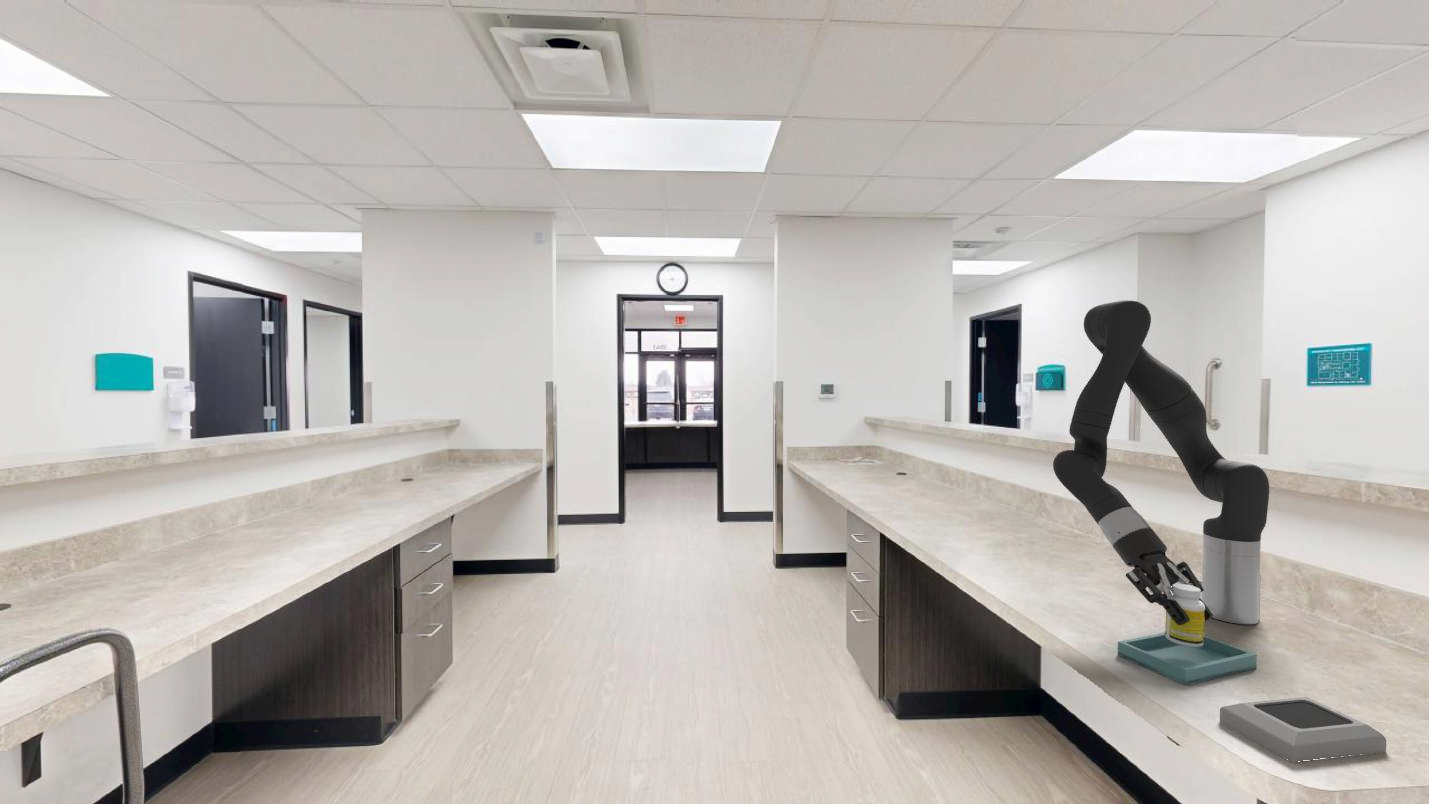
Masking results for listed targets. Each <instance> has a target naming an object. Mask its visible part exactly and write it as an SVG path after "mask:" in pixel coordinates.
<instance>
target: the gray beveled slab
mask: <svg viewBox="0 0 1429 804" xmlns="http://www.w3.org/2000/svg"><path fill="white" fill-rule="evenodd" d="M1219 722H1220V723H1221V724H1223V725H1224V726H1226V727H1228V728H1229V729H1231V730H1233V731H1235V732H1237V733H1239V734H1240V735H1242V736H1244V737H1246V738H1248V739H1249V740H1251V741H1253V742H1254V743H1256V744H1258V745H1260V746H1262V747H1264V748H1265V749H1266V750H1268V751H1270V752H1273V753H1274V754H1276V755H1277V756H1279V755H1280V756H1279V757H1281V756H1282V757H1281V758H1283V757H1284V758H1283V759H1285V758H1286V759H1288V760H1289V761H1288V760H1287V761H1288V762H1290V761H1291V762H1290V763H1292V762H1293V763H1292V764H1295V763H1294V762H1298V761H1303V760H1313V759H1320V758H1331V757H1341V756H1349V755H1359V756H1361V755H1360V754H1367V755H1372V754H1371V753H1376V754H1383V753H1387V739H1386V737H1385V735H1383V734H1382V733H1381V732H1380V731H1378V730H1377V729H1375V728H1373V727H1372V726H1370V725H1368V724H1366V723H1364V722H1363V721H1360V720H1358V719H1355V718H1353V717H1351V716H1349V715H1347V714H1344V713H1342V712H1340V711H1338V710H1336V709H1334V708H1331V707H1329V706H1327V705H1325V704H1323V703H1321V702H1318V701H1316V700H1314V699H1312V698H1309V697H1307V696H1302V697H1301V696H1300V697H1291V698H1279V699H1269V700H1261V701H1250V702H1241V703H1240V702H1239V703H1236V704H1230V705H1226V706H1222V707H1220V708H1219ZM1286 759H1285V760H1286Z"/></svg>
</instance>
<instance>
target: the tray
mask: <svg viewBox="0 0 1429 804" xmlns="http://www.w3.org/2000/svg"><path fill="white" fill-rule="evenodd" d="M1117 656H1119V657H1121V658H1123V659H1126V660H1128V661H1130V662H1132V663H1134V664H1137V665H1139V666H1141V665H1142V666H1141V667H1143V666H1144V668H1146V669H1148V670H1150V671H1152V672H1155V673H1158V674H1160V675H1161V676H1163V677H1166V678H1168V679H1171V680H1172V681H1175V682H1177V683H1180V684H1182V685H1184V686H1190V685H1193V684H1197V683H1203V682H1206V681H1211V680H1214V679H1218V678H1223V677H1227V676H1230V675H1235V674H1239V673H1243V672H1247V671H1251V670H1255V669H1257V662H1258V660H1257V659H1258V655H1257V653H1255V652H1251V651H1249V650H1246V649H1244V648H1241V647H1238V646H1236V645H1235V646H1234V645H1232V644H1230V643H1227V642H1224V641H1221V640H1219V639H1216V638H1213V637H1210V636H1207V635H1205V634H1204V643H1203V645H1202V646H1201V647H1189V646H1183V645H1179V644H1177V643H1174V642H1172V641H1170V640H1168V639H1167V638H1166V636H1165V632H1161V633H1154V634H1150V635H1144V636H1139V637H1135V638H1130V639H1125V640H1119V641H1117Z"/></svg>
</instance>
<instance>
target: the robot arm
mask: <svg viewBox="0 0 1429 804" xmlns="http://www.w3.org/2000/svg"><path fill="white" fill-rule="evenodd" d="M1151 323H1152V315H1151V312H1150V310H1149V309H1148V307H1147V306H1146V305H1145V304H1144V303H1142V302H1141V301H1139V300H1134V299H1124V300H1117V301H1113V302H1112V301H1111V302H1107V303H1102V304H1100V305H1096V306H1094V307H1092V308H1090V309H1089V310H1088V311H1087V312H1086V314H1085V316H1084V319H1083V329H1084V332H1085V335H1086V337H1087V339H1088V341H1090V342H1091V344H1093V346H1094V347H1095V348H1096V350H1098V351H1099V353H1100V354H1101V355H1102V356H1101V358H1100V362H1099V363H1098V365H1097V367H1096V369H1095V371H1094V372H1093V373H1092V376H1091V377H1090V378H1089V379H1088V381H1087V383H1086V384H1085V386H1084V387H1083V389H1082V391H1081V392H1080V394H1079V396H1078V398H1077V400H1076V403H1075V407H1074V410H1073V413H1072V417H1071V421H1070V424H1069V431H1068V433H1069V435H1070V436H1071V437H1072V438H1073V440H1074V447H1073V449H1067V450H1063V451H1060V452H1059V453H1058V454H1057V455H1056V456H1055V457H1054V459H1053V464H1052V467H1053V472H1054V475H1055V476H1056V478H1057V479H1058V481H1059V482H1060V483H1061V484H1062V486H1063V487H1064V488H1065V489H1067V491H1068V492H1069V493H1070V494H1071V495H1072V496H1074V498H1075V499H1077V501H1079V502H1080V503H1081V504H1082V505H1083V506H1084V507H1085V508H1086V510H1087V512H1088V513H1089V514H1090V516H1091V517H1092V518H1093V520H1094V521H1095V523H1096V524H1097V525H1098V526H1099V528H1100V530H1101V532H1102V534H1103V535H1104V537H1105V538H1106V540H1107V541H1108V542H1109V544H1110V545H1111V546H1112V548H1113V549H1114V551H1115V552H1116V553H1117V554H1118V556H1119V557H1120V559H1121V560H1122V562H1123V563H1124V564H1125V565H1126V566H1127V567H1128V568H1129V567H1130V568H1132V569H1131V570H1130V571H1128V572H1127V573H1126V574H1125V577H1126V579H1127V580H1128V581H1129V582H1131V584H1132V585H1133V586H1134V588H1136V589H1137V590H1138V592H1139V593H1140V594H1141V595H1142V596H1143V597H1144V598H1145V599H1146V600H1147V602H1148V603H1150V604H1154V603H1156V604H1158V605H1159V606H1161V607H1163V609H1164V610H1165V612H1166V611H1167V613H1168V614H1169V615H1170V616H1171V618H1172V619H1173V620H1174V621H1175V622H1176V624H1177V625H1183V624H1185V623H1187V622H1189V621H1190V619H1189V617H1188V616H1187V614H1186V613H1185V612H1184V611H1183V609H1182V608H1181V607H1180V605H1179V604H1178V603H1177V601H1176V600H1173V596H1172V595H1173V593H1172V585H1173V584H1186V585H1192V586H1194V587H1197V588H1199V589H1200V590H1201V597H1200V598H1199V600H1200V601H1201V602H1202V603H1203V604H1204V605H1205V621H1208V620H1210V619H1212V618H1213V619H1215V620H1219V621H1223V622H1226V623H1231V624H1232V623H1233V624H1238V625H1256V624H1258V623H1259V619H1261V587H1262V586H1261V585H1262V583H1261V582H1262V576H1261V575H1262V574H1261V540H1262V533H1263V531H1264V529H1265V527H1266V524H1267V520H1268V511H1269V510H1268V509H1269V500H1270V483H1269V481H1270V480H1269V479H1268V478H1269V477H1268V476H1267V474H1266V472H1265V470H1264V469H1263V468H1261V467H1260V466H1258V465H1257V464H1253V463H1248V462H1243V461H1236V460H1229V459H1226V458H1225V457H1224V456H1223V455H1222V454H1221V453H1220V452H1219V451H1218V449H1216V447H1215V446H1214V444H1213V442H1211V439H1210V438H1209V436H1208V432H1207V431H1208V430H1207V425H1208V424H1207V417H1208V416H1207V411H1206V408H1205V404H1204V403H1203V401H1202V399H1200V397H1199V396H1198V394H1197V393H1196V391H1195V390H1194V389H1193V387H1192V386H1191V384H1189V382H1188V381H1187V380H1186V379H1185V378H1184V377H1183V376H1181V375H1180V374H1179V373H1178V372H1177V371H1175V370H1173V368H1171V367H1170V366H1168V365H1166V364H1165V363H1163V362H1162V361H1160V360H1159V359H1158V358H1156V357H1155V356H1153V355H1152V354H1151V353H1150V352H1148V350H1147V349H1146V348H1145V347H1144V346H1143V344H1144V342H1145V340H1146V339H1147V336H1148V334H1149V332H1150V331H1149V330H1150V328H1151ZM1125 384H1126V385H1127V387H1128V388H1129V389H1130V391H1131V392H1132V393H1133V395H1134V396H1135V397H1136V399H1137V400H1138V403H1140V405H1141V406H1142V408H1143V409H1144V411H1145V412H1146V413H1147V415H1148V416H1149V418H1150V419H1151V420H1152V422H1153V423H1154V424H1155V425H1156V426H1157V428H1158V429H1159V431H1160V432H1161V433H1162V435H1163V437H1164V438H1165V439H1166V441H1167V443H1169V445H1170V447H1172V449H1173V451H1174V452H1175V453H1176V454H1177V456H1178V458H1179V459H1180V461H1181V463H1182V465H1183V466H1184V469H1185V471H1186V473H1187V474H1188V476H1189V478H1190V480H1191V481H1192V483H1193V484H1194V486H1195V488H1196V489H1197V491H1198V492H1199V493H1200V494H1201V495H1202V496H1204V497H1205V498H1207V499H1208V500H1211V501H1212V502H1217V503H1220V504H1221V503H1222V505H1221V511H1220V514H1219V515H1218V516H1216V517H1212V518H1208V519H1207V518H1206V520H1204V521H1203V525H1202V527H1203V528H1202V565H1201V567H1202V569H1201V570H1202V571H1201V583H1200V581H1199V579H1198V578H1197V577H1196V575H1195V573H1194V572H1193V571H1192V569H1191V568H1190V565H1188V563H1187V562H1185V561H1181V562H1179V563H1176V562H1174V561H1172V560H1171V559H1170V558H1169V557H1167V555H1166V552H1167V549H1168V548H1167V546H1166V545H1165V543H1164V541H1162V539H1161V538H1160V536H1158V534H1157V533H1156V532H1155V531H1154V529H1153V528H1152V527H1151V526H1150V524H1149V523H1148V522H1147V521H1146V519H1145V518H1144V517H1143V516H1142V515H1141V514H1140V513H1139V512H1138V511H1137V510H1136V509H1135V508H1134V507H1133V506H1132V504H1131V503H1130V502H1129V501H1128V499H1127V498H1126V497H1125V496H1124V494H1122V492H1121V491H1120V490H1119V489H1118V488H1117V487H1115V486H1114V485H1112V484H1110V483H1108V482H1107V481H1105V479H1104V478H1103V477H1104V474H1105V472H1106V469H1107V468H1106V467H1107V463H1108V461H1107V457H1108V435H1109V433H1110V429H1111V425H1112V422H1113V418H1114V415H1115V411H1116V407H1117V405H1118V401H1119V398H1120V395H1121V392H1122V390H1123V388H1124V385H1125ZM1147 588H1148V590H1147ZM1172 600H1173V601H1172Z"/></svg>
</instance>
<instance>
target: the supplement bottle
mask: <svg viewBox="0 0 1429 804" xmlns="http://www.w3.org/2000/svg"><path fill="white" fill-rule="evenodd" d="M1171 594H1172V596H1173V600H1176V601H1177V603H1178V604H1179V605H1180V607H1181V608H1182V609H1183V611H1184V612H1185V613H1186V614H1187V616H1188V617H1189V619H1190V621H1189V622H1187V623H1185V624H1183V625H1177V624H1176V622H1175V621H1174V620H1173V619H1172V618H1171V616H1170V615H1169V614H1168V613H1167V611H1166V610H1165V626H1164V627H1165V628H1164V630H1165V631H1164V633H1165V636H1166V638H1167V639H1168V640H1170V641H1172V642H1174V643H1177V644H1179V645H1183V646H1189V647H1201V646H1202V645H1203V643H1204V635H1205V605H1204V604H1203V603H1202V602H1201V601H1200V600H1199V598H1200V599H1201V596H1202V592H1201V590H1200V589H1199V588H1197V587H1194V585H1192V584H1190V585H1186V584H1178V583H1175V584H1173V585H1172V591H1171ZM1173 600H1172V601H1173Z"/></svg>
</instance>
